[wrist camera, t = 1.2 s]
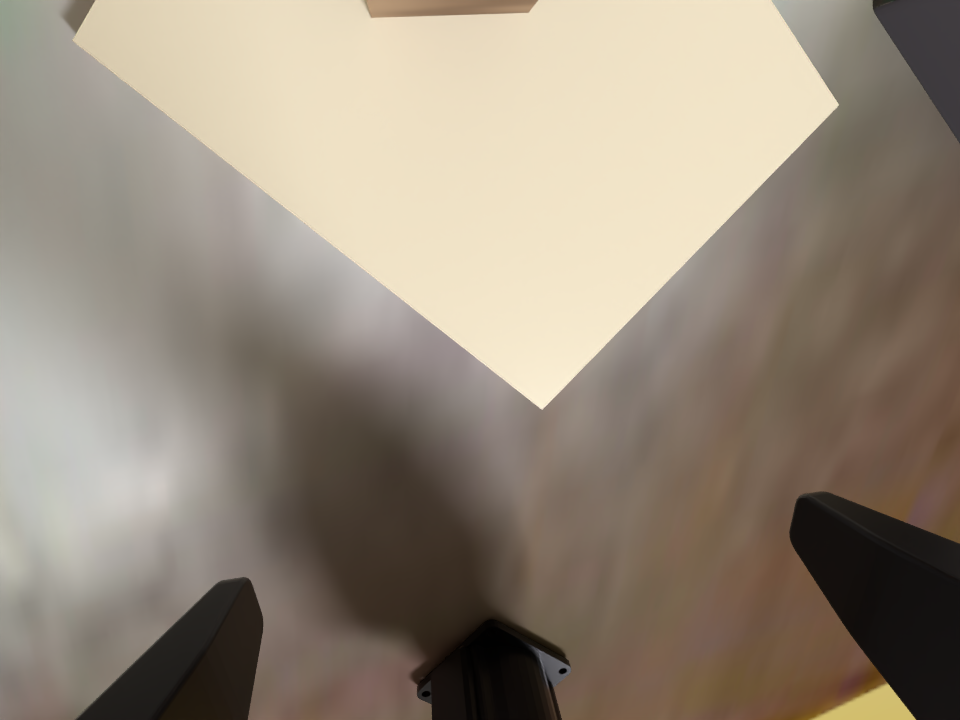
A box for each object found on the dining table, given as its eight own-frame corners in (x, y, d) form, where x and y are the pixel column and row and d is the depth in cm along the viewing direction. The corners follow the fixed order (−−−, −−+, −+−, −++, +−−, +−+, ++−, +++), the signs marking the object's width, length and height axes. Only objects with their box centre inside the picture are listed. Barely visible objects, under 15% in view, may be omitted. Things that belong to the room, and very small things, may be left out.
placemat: (826, 106, 19) (839, 105, 18) (538, 403, 22) (542, 409, 21) (413, -519, 12) (413, -553, 11) (84, 45, 15) (72, 40, 14)
